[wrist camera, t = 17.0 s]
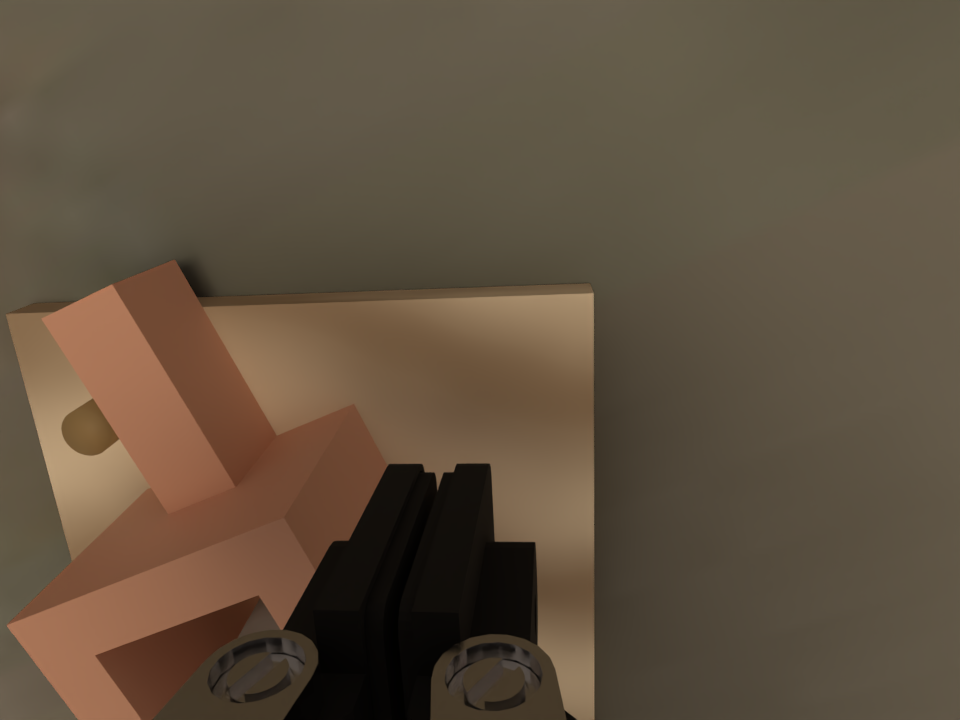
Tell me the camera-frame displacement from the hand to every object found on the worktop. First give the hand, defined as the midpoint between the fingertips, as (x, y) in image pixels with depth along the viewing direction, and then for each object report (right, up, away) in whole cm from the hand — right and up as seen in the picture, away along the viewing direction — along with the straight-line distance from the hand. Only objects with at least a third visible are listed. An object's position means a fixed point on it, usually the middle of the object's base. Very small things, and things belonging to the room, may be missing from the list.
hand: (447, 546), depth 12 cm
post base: (-4, -3, +11) cm, 12 cm away
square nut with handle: (-6, 0, +9) cm, 11 cm away
